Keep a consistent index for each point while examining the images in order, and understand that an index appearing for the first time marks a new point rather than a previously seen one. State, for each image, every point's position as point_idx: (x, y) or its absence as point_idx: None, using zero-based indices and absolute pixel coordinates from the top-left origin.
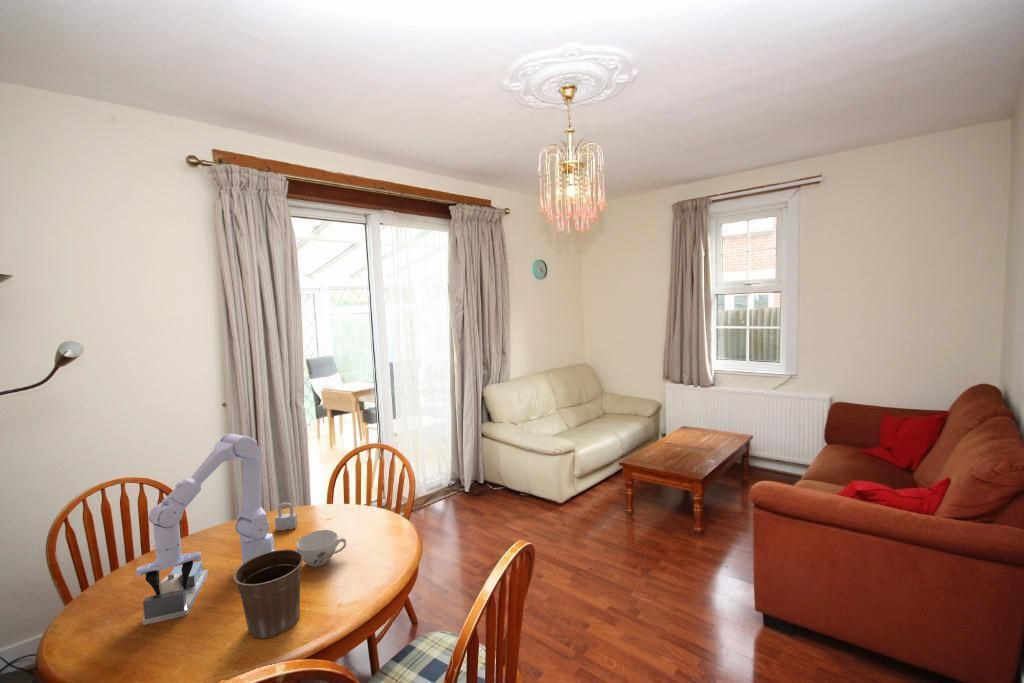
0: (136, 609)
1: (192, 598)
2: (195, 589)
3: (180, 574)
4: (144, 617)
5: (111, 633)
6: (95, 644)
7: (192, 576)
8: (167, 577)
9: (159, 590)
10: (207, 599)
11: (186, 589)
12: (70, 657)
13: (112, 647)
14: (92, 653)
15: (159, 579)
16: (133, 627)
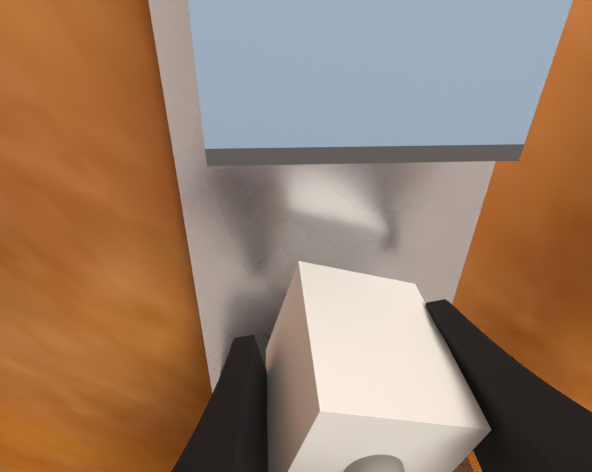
0: (66, 219)
1: (451, 302)
2: (468, 198)
3: (463, 433)
4: (213, 385)
5: (79, 386)
6: (59, 429)
7: (500, 160)
8: (327, 454)
9: (267, 425)
10: (515, 263)
11: (398, 166)
12: (10, 465)
13: (158, 453)
14: (94, 463)
15: (235, 441)
16: (173, 374)
